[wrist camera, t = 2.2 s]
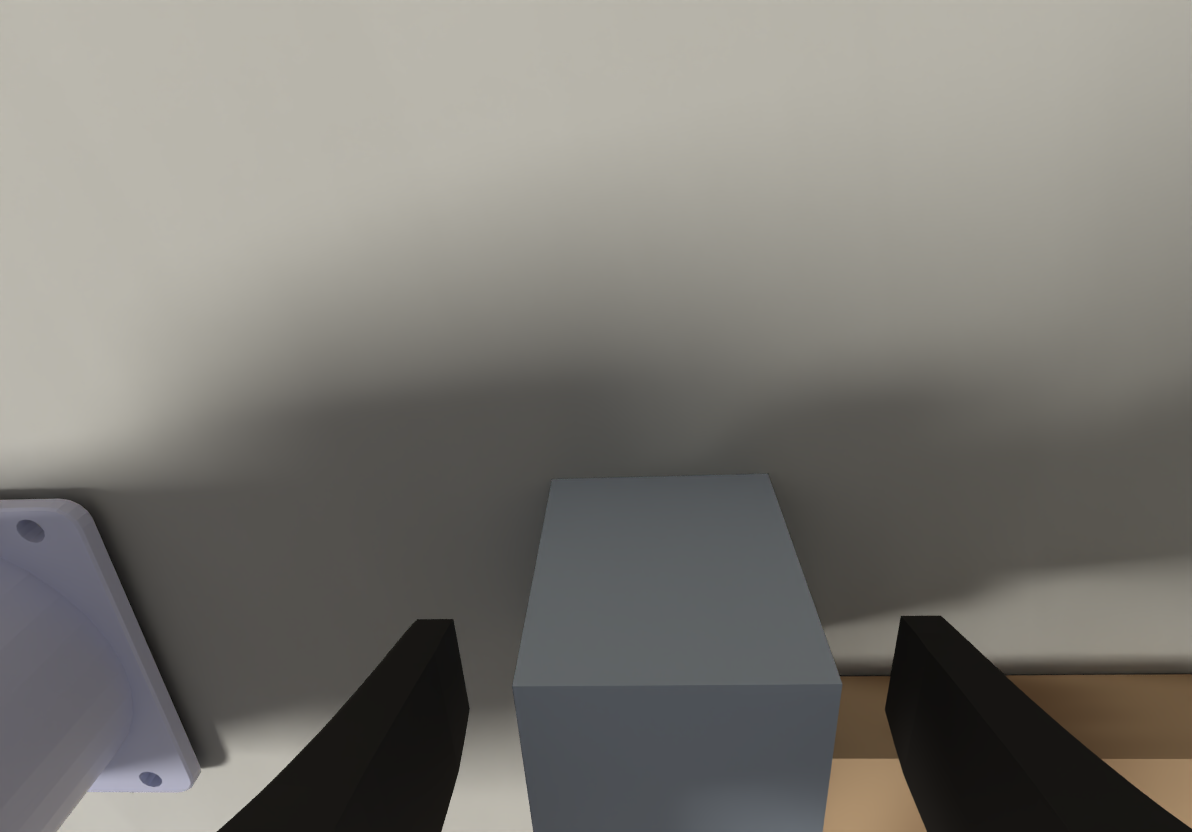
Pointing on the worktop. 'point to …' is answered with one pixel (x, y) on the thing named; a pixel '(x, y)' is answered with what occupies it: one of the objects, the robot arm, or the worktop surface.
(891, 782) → the slab
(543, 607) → the block
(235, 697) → the worktop surface
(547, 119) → the worktop surface
